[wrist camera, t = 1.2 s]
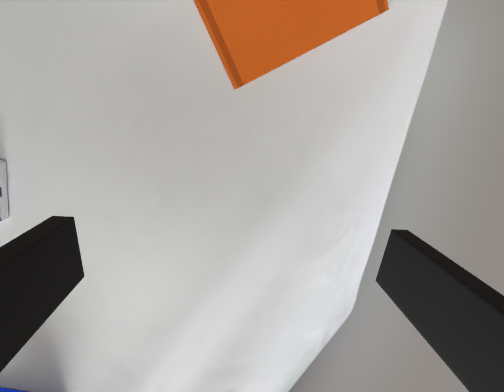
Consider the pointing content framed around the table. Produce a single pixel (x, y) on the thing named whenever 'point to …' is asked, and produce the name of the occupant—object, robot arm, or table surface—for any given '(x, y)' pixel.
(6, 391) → the bracket
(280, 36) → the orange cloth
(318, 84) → the table surface
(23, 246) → the robot arm
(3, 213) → the hard drive
